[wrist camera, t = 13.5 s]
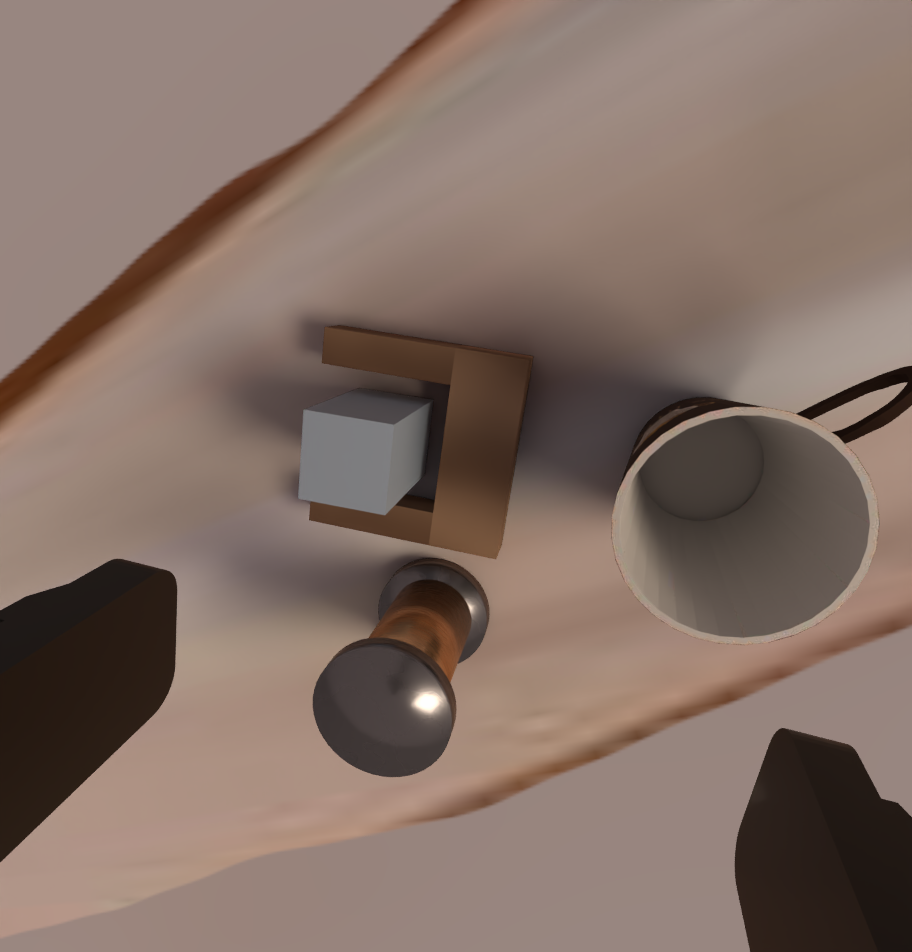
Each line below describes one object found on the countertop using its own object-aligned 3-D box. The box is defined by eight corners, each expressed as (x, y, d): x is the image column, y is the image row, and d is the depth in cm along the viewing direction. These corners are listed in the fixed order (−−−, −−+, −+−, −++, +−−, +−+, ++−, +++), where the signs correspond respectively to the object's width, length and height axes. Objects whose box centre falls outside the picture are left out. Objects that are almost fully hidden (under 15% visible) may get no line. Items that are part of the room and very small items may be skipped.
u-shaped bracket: (339, 325, 35) (324, 327, 33) (533, 356, 33) (529, 359, 31) (323, 508, 37) (309, 520, 36) (501, 545, 36) (496, 559, 34)
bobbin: (390, 548, 37) (318, 634, 28) (497, 570, 36) (461, 668, 27) (378, 644, 39) (307, 756, 29) (480, 668, 38) (441, 792, 29)
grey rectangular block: (359, 387, 35) (303, 409, 29) (433, 399, 35) (394, 424, 28) (353, 461, 36) (298, 498, 30) (424, 474, 36) (385, 515, 29)
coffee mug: (628, 561, 35) (639, 660, 25) (590, 398, 33) (586, 439, 24) (879, 516, 32) (998, 610, 22) (851, 334, 30) (967, 353, 21)
